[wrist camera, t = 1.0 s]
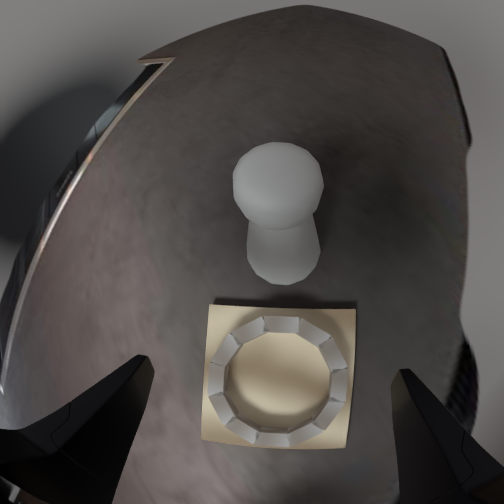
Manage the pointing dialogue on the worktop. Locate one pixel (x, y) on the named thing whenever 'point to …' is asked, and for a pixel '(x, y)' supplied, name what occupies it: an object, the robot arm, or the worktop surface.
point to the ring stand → (278, 377)
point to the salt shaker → (279, 210)
